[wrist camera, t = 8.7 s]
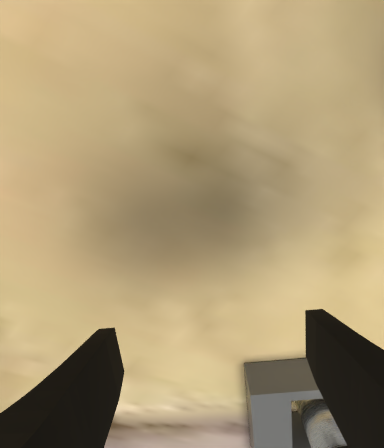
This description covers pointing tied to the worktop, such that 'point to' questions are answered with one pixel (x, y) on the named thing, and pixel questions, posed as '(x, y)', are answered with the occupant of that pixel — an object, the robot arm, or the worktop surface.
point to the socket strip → (278, 402)
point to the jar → (319, 424)
